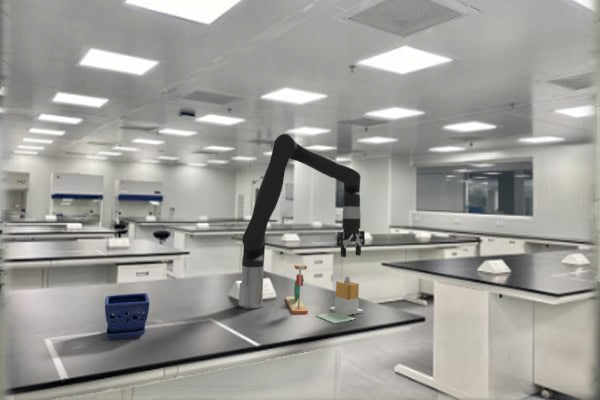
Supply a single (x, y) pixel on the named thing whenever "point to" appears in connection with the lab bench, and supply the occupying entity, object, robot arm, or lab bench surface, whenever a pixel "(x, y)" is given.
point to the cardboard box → (347, 290)
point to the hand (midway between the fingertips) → (350, 256)
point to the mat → (335, 317)
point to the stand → (346, 304)
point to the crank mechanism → (297, 294)
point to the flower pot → (126, 315)
